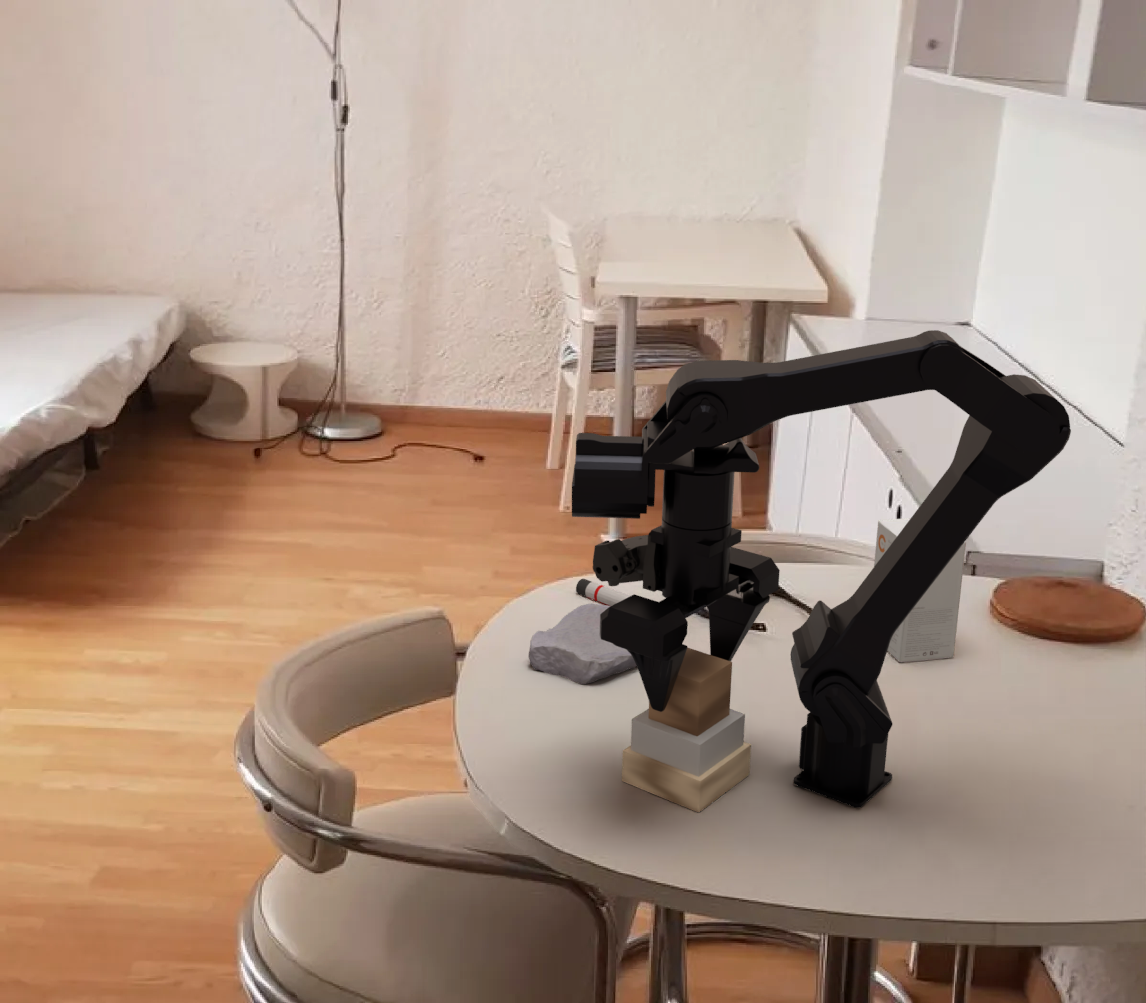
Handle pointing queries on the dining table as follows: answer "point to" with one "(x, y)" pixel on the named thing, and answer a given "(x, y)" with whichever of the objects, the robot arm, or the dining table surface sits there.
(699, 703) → the walnut cube
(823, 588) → the dining table surface
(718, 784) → the beech base block
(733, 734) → the grey block
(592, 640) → the stone block
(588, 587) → the marker
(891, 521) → the small box
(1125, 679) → the dining table surface
